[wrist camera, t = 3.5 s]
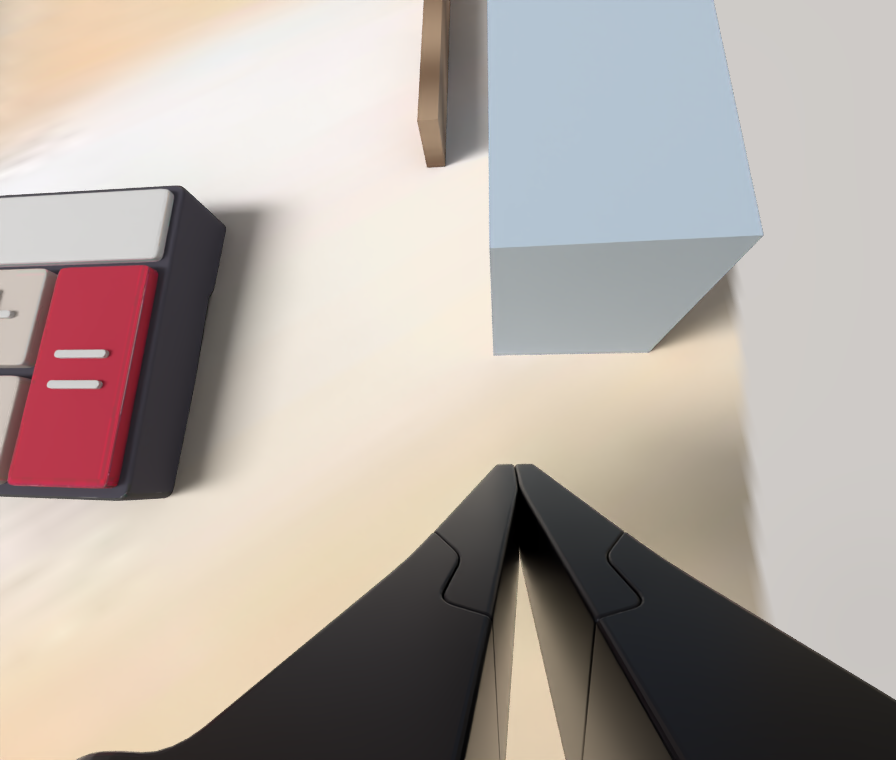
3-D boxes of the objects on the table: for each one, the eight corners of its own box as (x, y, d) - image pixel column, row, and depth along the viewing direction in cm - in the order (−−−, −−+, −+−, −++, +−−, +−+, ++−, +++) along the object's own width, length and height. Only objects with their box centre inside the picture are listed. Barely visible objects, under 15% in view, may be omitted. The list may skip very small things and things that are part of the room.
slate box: (647, 353, 20) (763, 235, 11) (493, 356, 20) (489, 248, 12) (616, 84, 24) (681, -150, 15) (490, 95, 25) (486, -122, 16)
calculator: (-123, 494, 18) (-27, 184, 22) (-8, 491, 22) (58, 232, 26) (110, 502, 17) (174, 172, 20) (187, 497, 21) (229, 224, 24)
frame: (695, 149, 22) (725, 96, 19) (427, 167, 24) (417, 121, 21) (656, -88, 27) (674, -158, 24) (437, -60, 29) (430, -122, 26)
